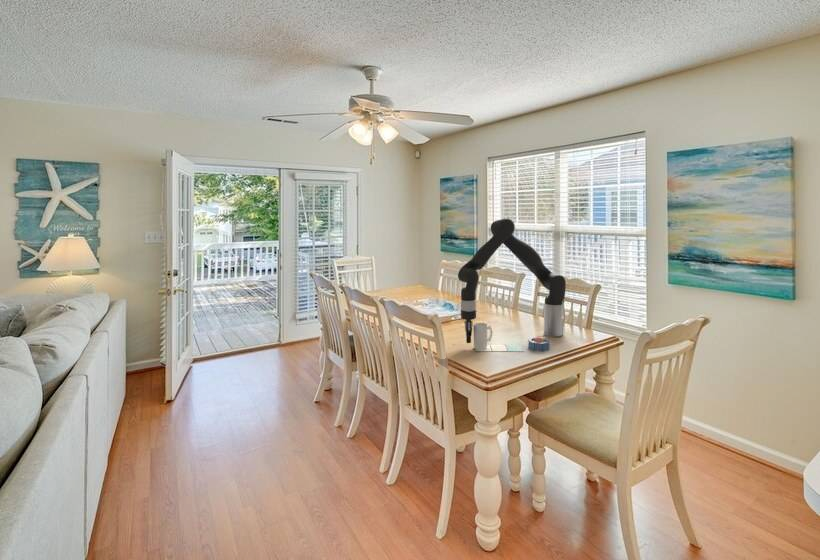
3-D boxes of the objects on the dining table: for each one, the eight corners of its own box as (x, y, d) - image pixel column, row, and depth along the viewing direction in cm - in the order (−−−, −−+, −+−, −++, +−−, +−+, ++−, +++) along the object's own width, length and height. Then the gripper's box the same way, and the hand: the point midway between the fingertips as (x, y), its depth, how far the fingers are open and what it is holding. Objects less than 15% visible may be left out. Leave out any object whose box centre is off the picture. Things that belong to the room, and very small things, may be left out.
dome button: (539, 344, 212) (539, 334, 211) (547, 347, 207) (548, 337, 206) (529, 346, 210) (530, 336, 209) (538, 349, 204) (538, 339, 203)
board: (519, 344, 214) (519, 344, 214) (523, 351, 204) (523, 351, 203) (474, 344, 216) (474, 344, 216) (476, 351, 205) (476, 351, 205)
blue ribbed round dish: (539, 343, 215) (539, 336, 214) (553, 349, 206) (553, 341, 205) (524, 346, 210) (524, 339, 210) (538, 352, 202) (538, 344, 201)
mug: (477, 351, 206) (477, 327, 204) (471, 347, 212) (471, 323, 210) (495, 348, 209) (495, 324, 207) (488, 344, 215) (488, 321, 213)
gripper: (460, 305, 215) (460, 338, 218) (461, 311, 202) (461, 346, 205) (475, 305, 214) (475, 338, 217) (477, 311, 201) (477, 346, 204)
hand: (468, 342), depth 211 cm, fingers closed
